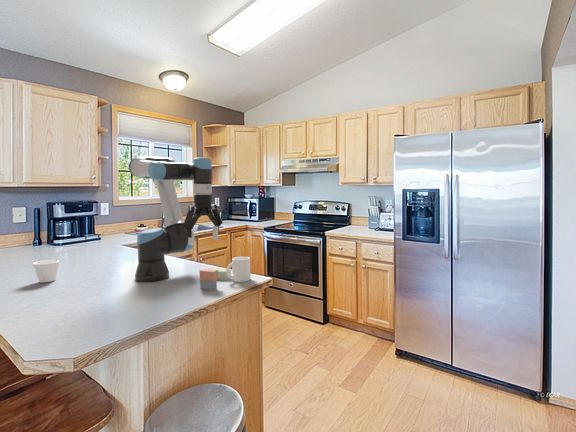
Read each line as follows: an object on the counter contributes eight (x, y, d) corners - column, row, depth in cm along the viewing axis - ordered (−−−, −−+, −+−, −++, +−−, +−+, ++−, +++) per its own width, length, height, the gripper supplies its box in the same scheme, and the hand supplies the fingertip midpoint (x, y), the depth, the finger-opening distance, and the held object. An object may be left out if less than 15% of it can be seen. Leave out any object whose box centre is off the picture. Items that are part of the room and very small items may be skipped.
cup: (65, 279, 152) (63, 260, 151) (41, 285, 143) (40, 265, 142) (52, 277, 156) (51, 258, 155) (29, 283, 147) (27, 263, 146)
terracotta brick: (199, 279, 136) (199, 270, 136) (204, 277, 139) (204, 268, 139) (213, 281, 133) (213, 272, 133) (218, 279, 136) (218, 270, 136)
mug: (231, 285, 140) (230, 262, 139) (222, 281, 147) (221, 259, 146) (253, 280, 148) (253, 258, 147) (244, 276, 154) (243, 255, 153)
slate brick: (200, 288, 137) (199, 279, 137) (207, 286, 140) (206, 277, 140) (209, 291, 133) (209, 282, 132) (216, 289, 135) (216, 280, 135)
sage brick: (214, 279, 151) (213, 271, 150) (217, 277, 154) (217, 269, 154) (228, 280, 149) (227, 271, 149) (230, 278, 152) (230, 269, 152)
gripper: (184, 195, 125) (185, 248, 128) (229, 193, 146) (230, 239, 148) (172, 194, 129) (174, 245, 132) (218, 193, 150) (218, 237, 152)
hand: (203, 242), depth 140 cm, fingers open, 13 cm apart
